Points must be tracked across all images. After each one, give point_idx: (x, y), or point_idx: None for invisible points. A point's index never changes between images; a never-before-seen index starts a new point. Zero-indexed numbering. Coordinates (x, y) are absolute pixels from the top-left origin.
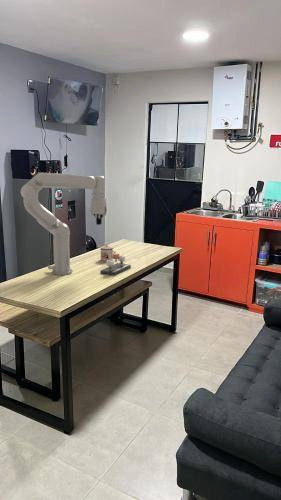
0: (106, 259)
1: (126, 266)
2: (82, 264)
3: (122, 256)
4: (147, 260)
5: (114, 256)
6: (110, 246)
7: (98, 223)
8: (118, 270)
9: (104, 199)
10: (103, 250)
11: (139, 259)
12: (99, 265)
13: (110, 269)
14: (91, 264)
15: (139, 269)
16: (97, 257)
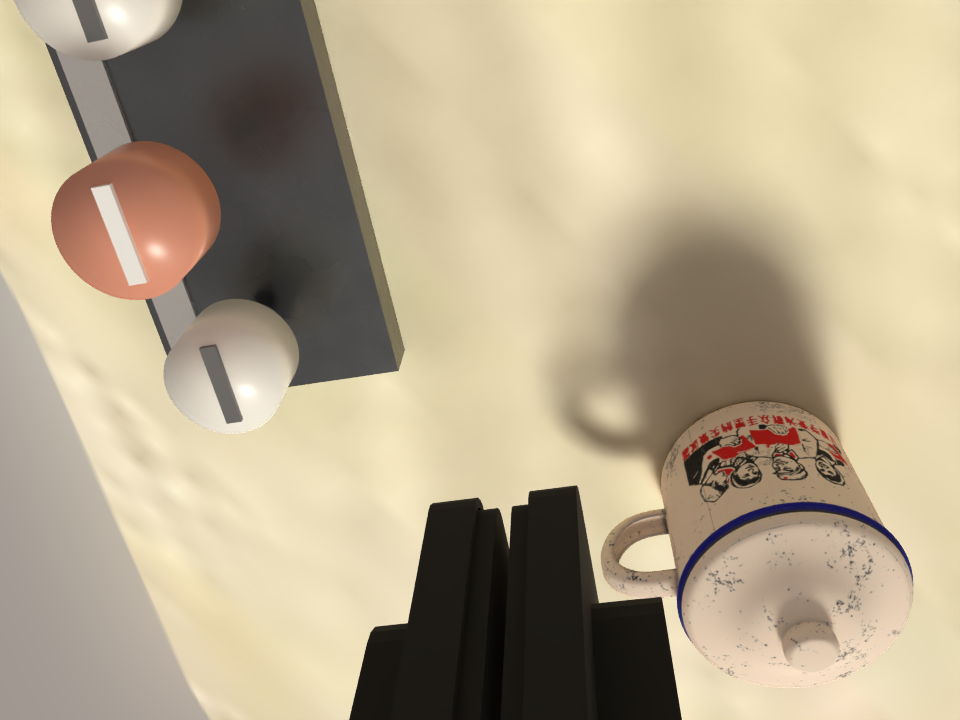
0: (703, 431)
1: (155, 301)
2: (920, 37)
3: (201, 381)
4: (309, 717)
5: (104, 157)
6: (736, 648)
7: (428, 541)
8: (58, 56)
9: None
10: (781, 498)
11: None
12: (631, 186)
13: (187, 9)
14: (781, 143)
15: (64, 392)
16: (954, 483)
